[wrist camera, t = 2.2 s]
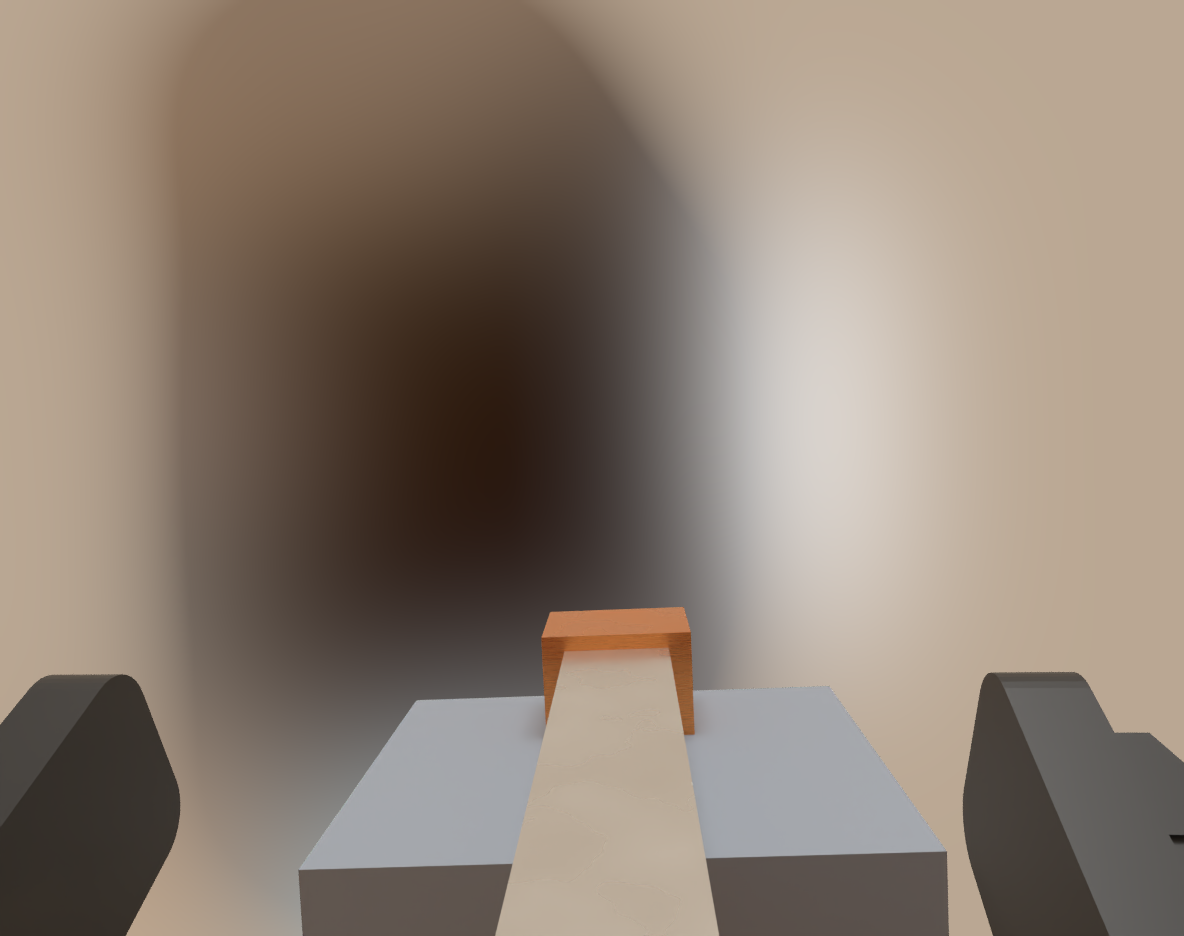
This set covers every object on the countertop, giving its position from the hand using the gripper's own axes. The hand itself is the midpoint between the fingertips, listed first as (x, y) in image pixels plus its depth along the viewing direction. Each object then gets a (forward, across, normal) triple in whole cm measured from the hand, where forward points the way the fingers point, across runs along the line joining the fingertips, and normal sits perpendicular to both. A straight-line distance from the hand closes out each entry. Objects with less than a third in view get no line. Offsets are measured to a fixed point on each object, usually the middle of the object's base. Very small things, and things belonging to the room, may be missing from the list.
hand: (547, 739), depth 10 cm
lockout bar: (+12, +1, +15) cm, 19 cm away
